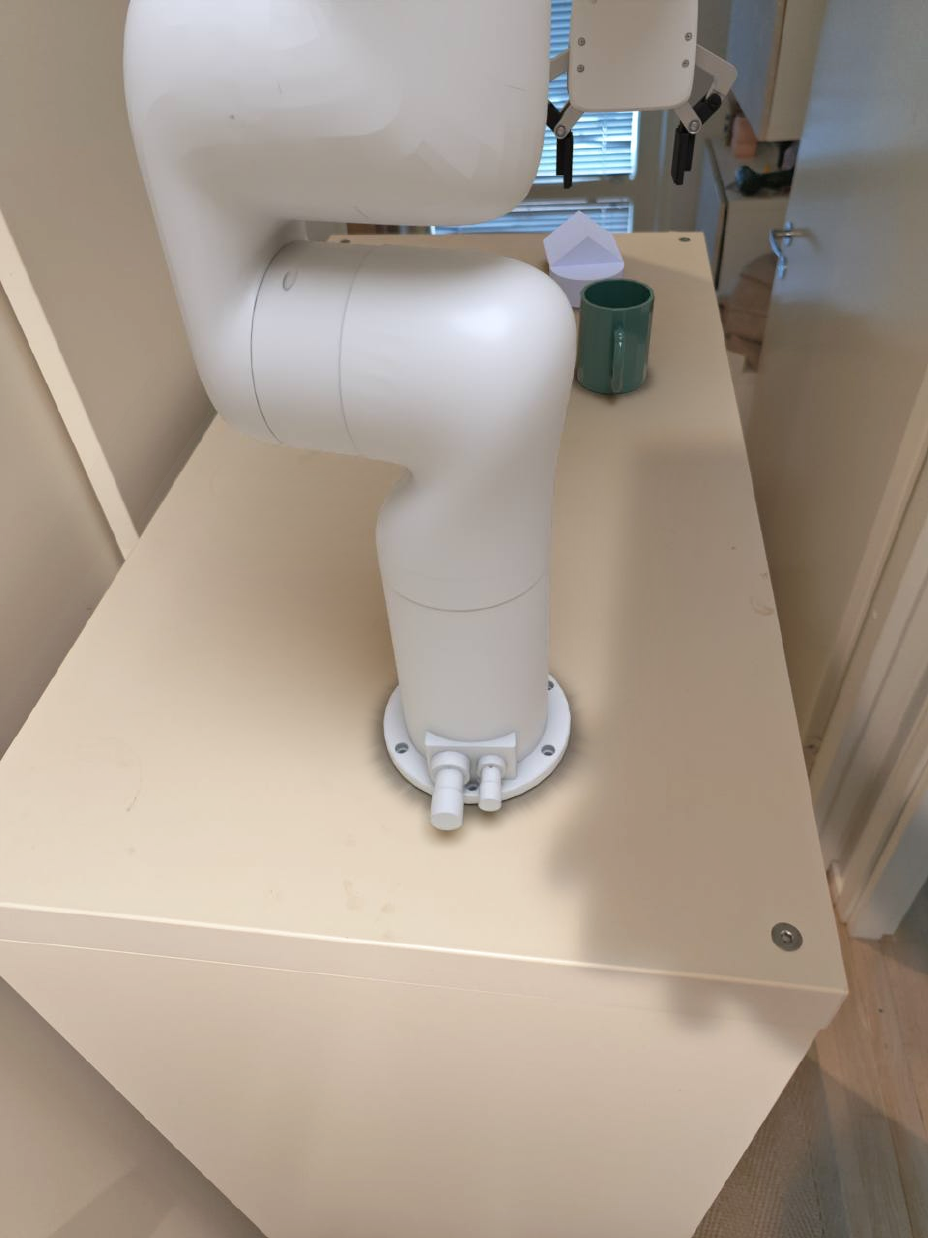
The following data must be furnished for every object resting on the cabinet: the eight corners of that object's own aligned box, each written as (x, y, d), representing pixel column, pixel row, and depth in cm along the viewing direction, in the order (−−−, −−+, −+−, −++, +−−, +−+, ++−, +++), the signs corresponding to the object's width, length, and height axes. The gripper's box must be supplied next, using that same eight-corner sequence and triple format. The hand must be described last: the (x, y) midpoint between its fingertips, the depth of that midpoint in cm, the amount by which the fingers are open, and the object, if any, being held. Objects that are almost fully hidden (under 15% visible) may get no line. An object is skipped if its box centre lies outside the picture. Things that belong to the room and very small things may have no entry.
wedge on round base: (542, 266, 111) (552, 309, 102) (543, 212, 106) (553, 253, 97) (611, 261, 111) (627, 305, 102) (614, 207, 106) (632, 248, 97)
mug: (575, 360, 93) (579, 279, 86) (642, 359, 92) (650, 277, 86) (579, 410, 86) (583, 325, 79) (651, 408, 85) (661, 323, 79)
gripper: (748, -76, 66) (714, 165, 77) (524, -63, 67) (524, 172, 79) (767, -65, 60) (727, 192, 72) (523, -52, 62) (523, 199, 73)
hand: (621, 181), depth 75 cm, fingers open, 9 cm apart
